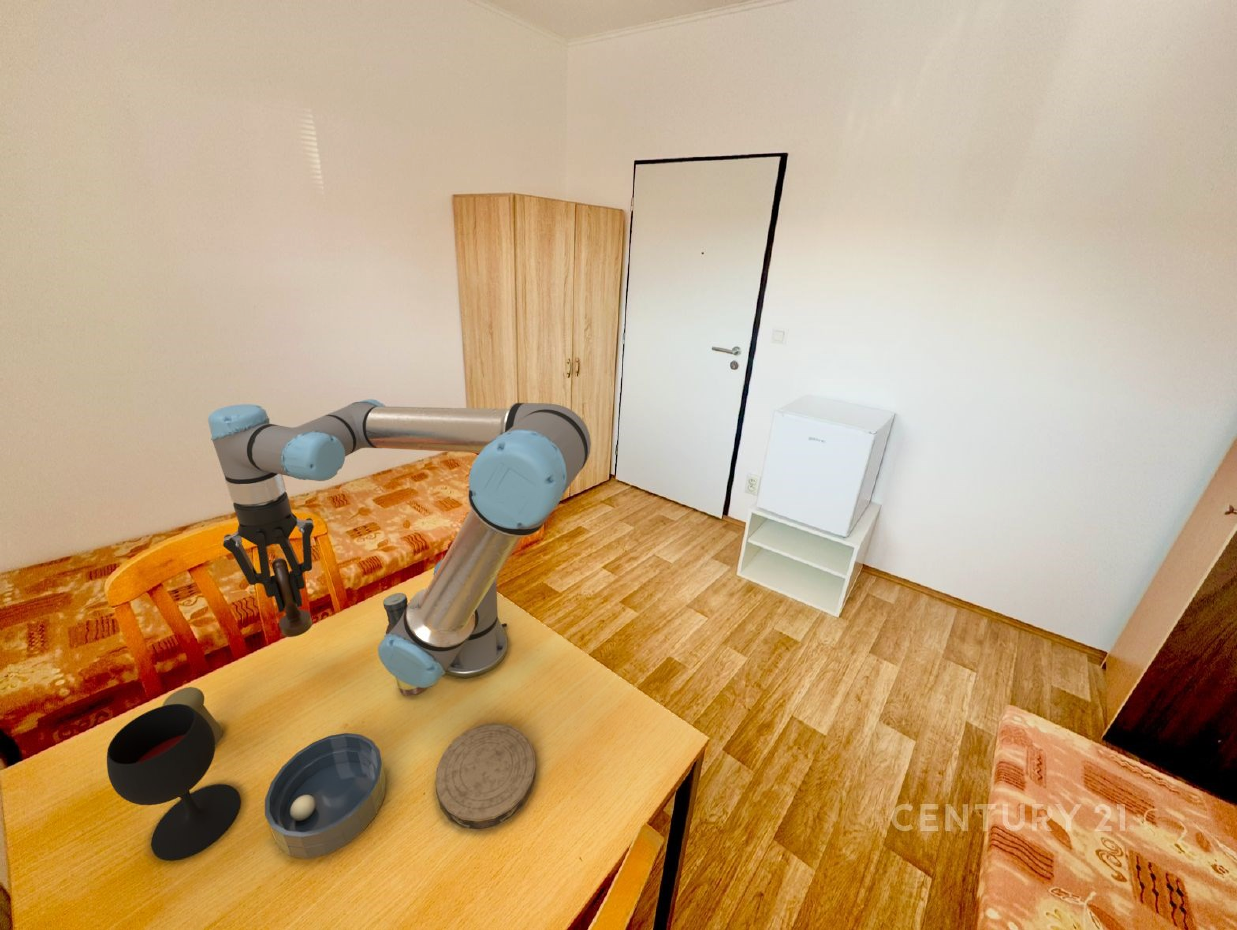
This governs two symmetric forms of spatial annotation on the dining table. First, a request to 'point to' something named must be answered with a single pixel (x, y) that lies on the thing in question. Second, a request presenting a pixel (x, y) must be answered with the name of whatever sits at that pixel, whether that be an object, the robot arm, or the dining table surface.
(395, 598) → the sauce bottle
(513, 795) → the tin can
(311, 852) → the bowl
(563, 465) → the robot arm
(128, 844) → the dining table surface
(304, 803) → the egg
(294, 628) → the brown rubber stamp
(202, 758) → the wine glass
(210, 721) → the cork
